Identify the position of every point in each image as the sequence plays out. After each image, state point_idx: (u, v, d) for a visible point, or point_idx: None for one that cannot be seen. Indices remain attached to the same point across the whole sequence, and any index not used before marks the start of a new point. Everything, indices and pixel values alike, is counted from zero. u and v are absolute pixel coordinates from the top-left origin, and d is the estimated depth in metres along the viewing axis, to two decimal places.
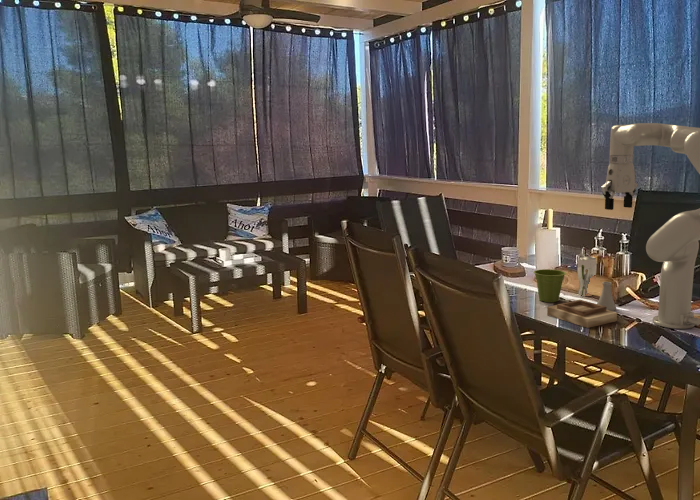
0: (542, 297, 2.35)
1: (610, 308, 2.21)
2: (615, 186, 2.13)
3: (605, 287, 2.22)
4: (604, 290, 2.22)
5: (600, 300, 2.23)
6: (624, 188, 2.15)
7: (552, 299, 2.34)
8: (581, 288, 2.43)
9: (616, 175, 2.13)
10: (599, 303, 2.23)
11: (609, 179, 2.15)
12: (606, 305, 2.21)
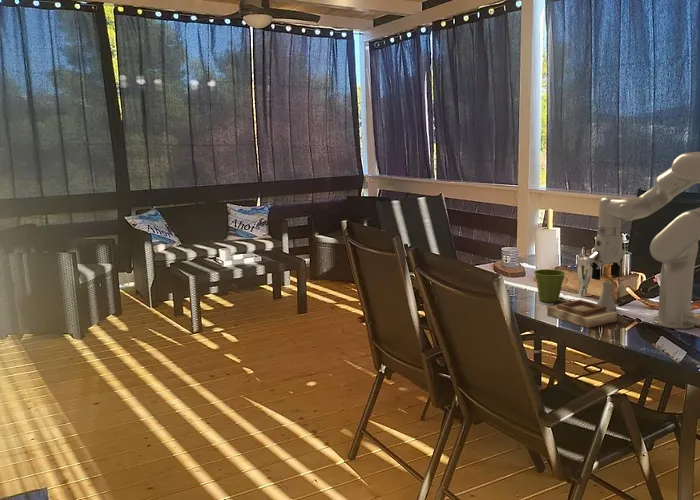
0: (542, 297, 2.35)
1: (610, 308, 2.21)
2: (602, 258, 2.17)
3: (605, 287, 2.22)
4: (604, 290, 2.22)
5: (600, 300, 2.23)
6: (611, 259, 2.18)
7: (552, 299, 2.34)
8: (581, 288, 2.43)
9: (603, 247, 2.16)
10: (599, 303, 2.23)
11: (597, 250, 2.18)
12: (606, 305, 2.21)
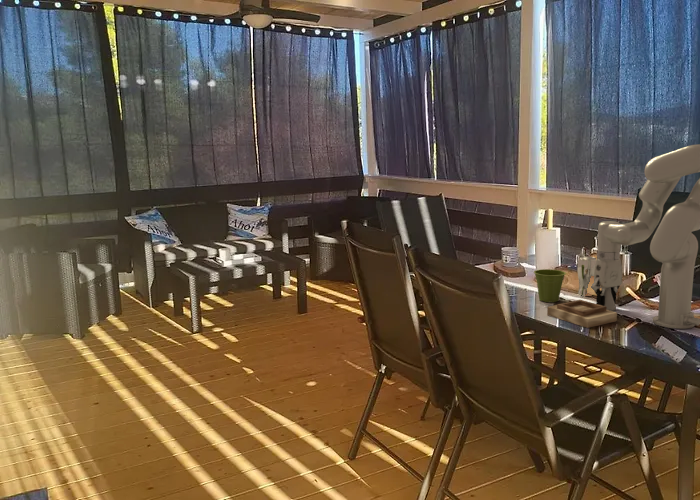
0: (542, 297, 2.35)
1: (610, 308, 2.21)
2: (602, 282, 2.18)
3: None
4: None
5: None
6: (611, 283, 2.19)
7: (552, 299, 2.34)
8: (581, 288, 2.43)
9: (603, 271, 2.17)
10: None
11: (597, 274, 2.20)
12: (606, 305, 2.21)
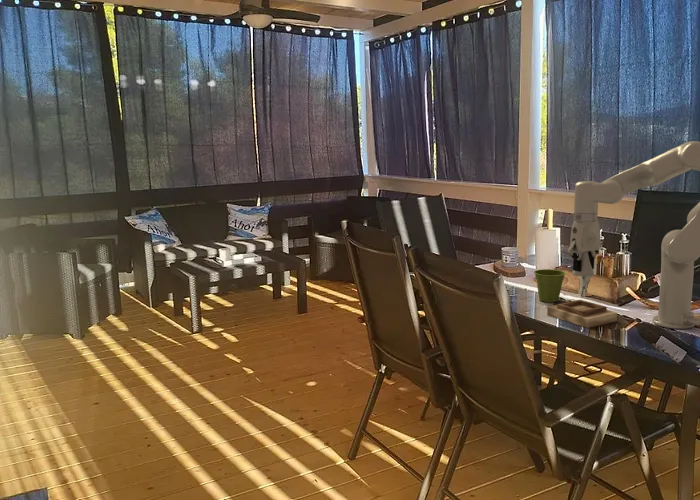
0: (542, 297, 2.35)
1: (587, 273, 2.08)
2: (579, 245, 2.05)
3: None
4: None
5: None
6: (589, 247, 2.07)
7: (552, 299, 2.34)
8: (581, 288, 2.43)
9: (580, 234, 2.05)
10: None
11: (573, 237, 2.07)
12: (583, 270, 2.09)
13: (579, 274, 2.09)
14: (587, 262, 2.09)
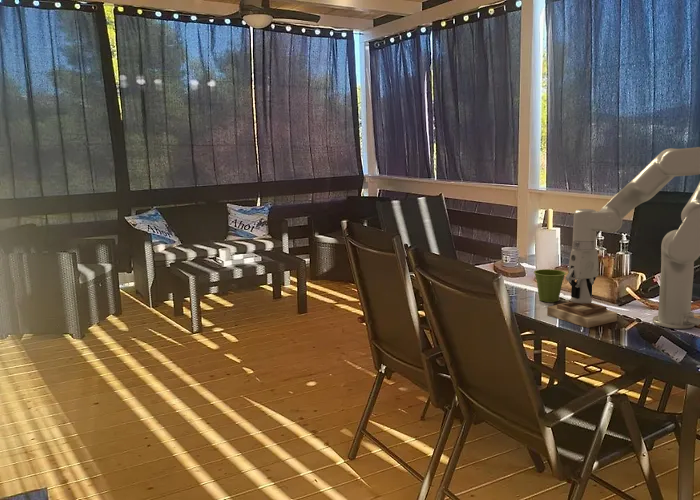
0: (542, 297, 2.35)
1: (585, 300, 2.10)
2: (577, 273, 2.07)
3: None
4: None
5: None
6: (587, 274, 2.08)
7: (552, 299, 2.34)
8: None
9: (578, 262, 2.06)
10: None
11: (571, 265, 2.09)
12: (581, 297, 2.10)
13: (577, 301, 2.11)
14: (585, 289, 2.10)
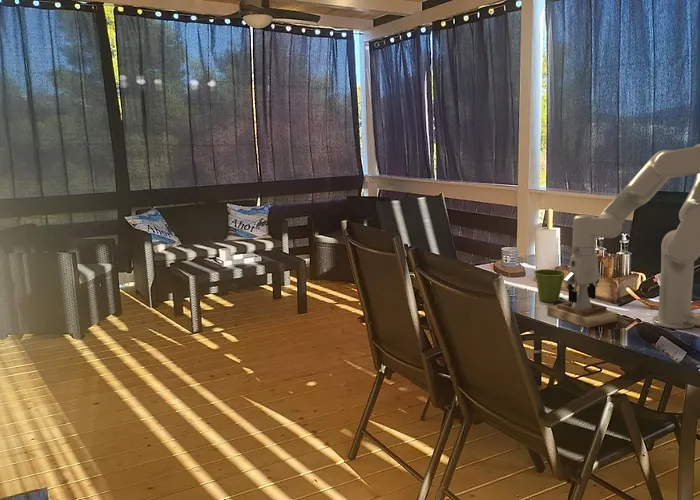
0: (542, 297, 2.35)
1: (586, 308, 2.10)
2: (577, 279, 2.07)
3: (581, 286, 2.11)
4: (580, 290, 2.12)
5: None
6: (587, 280, 2.09)
7: (552, 299, 2.34)
8: None
9: (578, 267, 2.07)
10: (575, 303, 2.13)
11: (571, 271, 2.09)
12: (582, 305, 2.11)
13: None
14: (586, 297, 2.11)
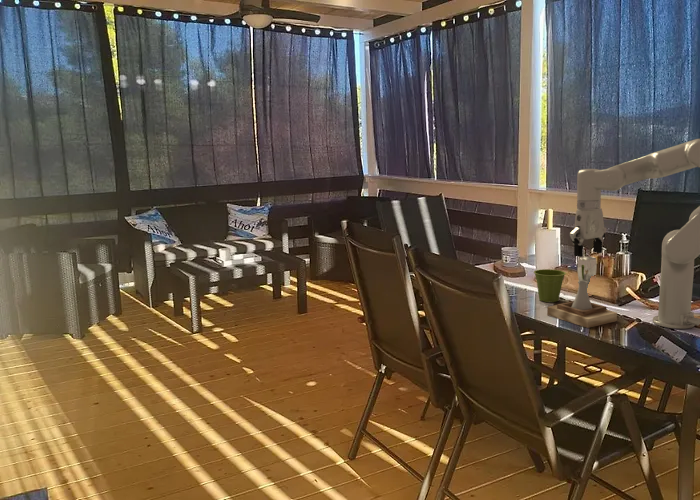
0: (542, 297, 2.35)
1: (586, 308, 2.10)
2: (584, 233, 2.06)
3: (581, 286, 2.11)
4: (580, 290, 2.12)
5: (576, 300, 2.12)
6: (593, 234, 2.08)
7: (552, 299, 2.34)
8: None
9: (584, 221, 2.06)
10: (575, 303, 2.13)
11: (577, 225, 2.08)
12: (582, 305, 2.11)
13: None
14: (586, 297, 2.11)
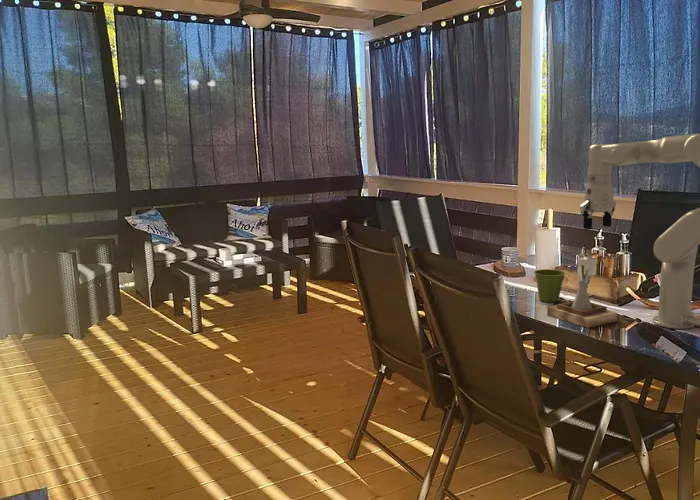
0: (542, 297, 2.35)
1: (586, 308, 2.10)
2: (593, 206, 2.13)
3: (581, 286, 2.11)
4: (580, 290, 2.12)
5: (576, 300, 2.12)
6: (602, 207, 2.14)
7: (552, 299, 2.34)
8: None
9: (594, 195, 2.12)
10: (575, 303, 2.13)
11: (587, 198, 2.15)
12: (582, 305, 2.11)
13: None
14: (586, 297, 2.11)
